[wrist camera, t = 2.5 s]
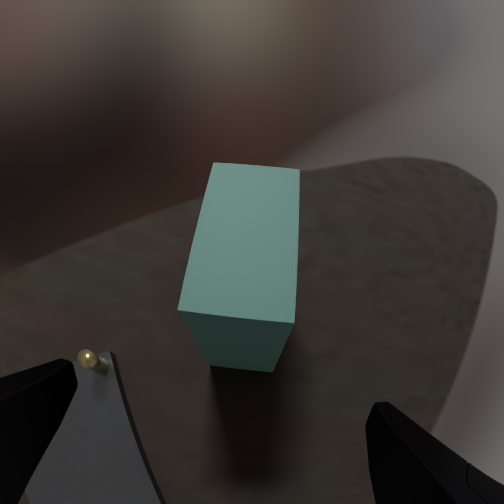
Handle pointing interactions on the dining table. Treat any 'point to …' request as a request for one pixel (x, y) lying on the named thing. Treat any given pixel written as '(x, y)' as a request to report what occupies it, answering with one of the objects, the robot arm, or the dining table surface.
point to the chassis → (95, 445)
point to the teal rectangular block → (244, 266)
